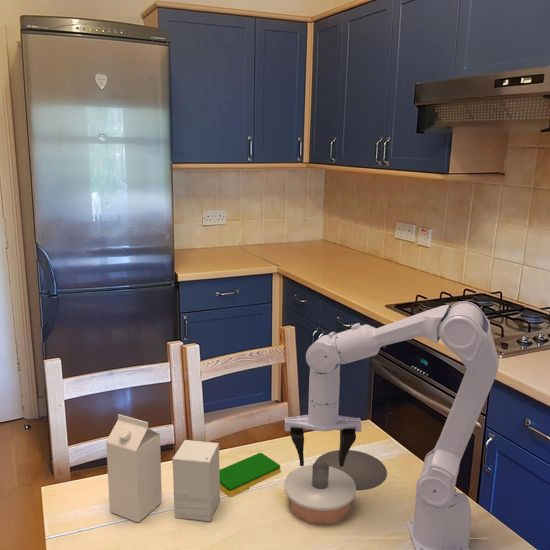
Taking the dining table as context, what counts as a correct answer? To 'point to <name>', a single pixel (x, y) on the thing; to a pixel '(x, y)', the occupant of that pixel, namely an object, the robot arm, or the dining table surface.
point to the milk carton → (133, 468)
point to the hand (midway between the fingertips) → (321, 463)
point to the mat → (358, 468)
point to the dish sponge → (246, 474)
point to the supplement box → (196, 480)
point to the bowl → (319, 514)
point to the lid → (320, 487)
